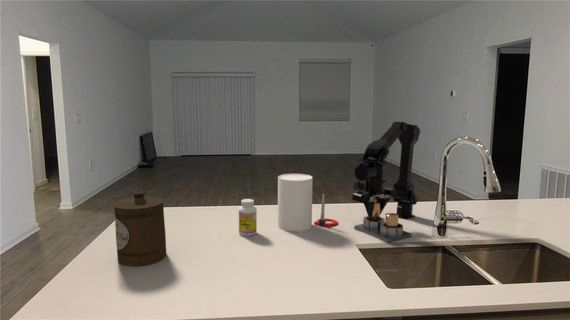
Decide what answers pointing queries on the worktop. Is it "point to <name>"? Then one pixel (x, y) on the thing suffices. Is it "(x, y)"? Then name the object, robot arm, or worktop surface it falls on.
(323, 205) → the tow hook
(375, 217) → the brass peg
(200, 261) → the worktop surface
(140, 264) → the wooden container
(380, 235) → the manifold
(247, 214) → the supplement bottle
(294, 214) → the canister
